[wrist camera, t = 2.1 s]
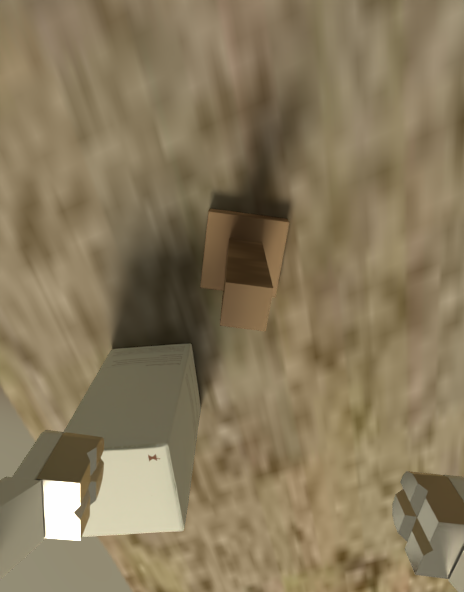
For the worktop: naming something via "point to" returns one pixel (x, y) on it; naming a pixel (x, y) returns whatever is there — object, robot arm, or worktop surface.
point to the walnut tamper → (243, 264)
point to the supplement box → (142, 438)
